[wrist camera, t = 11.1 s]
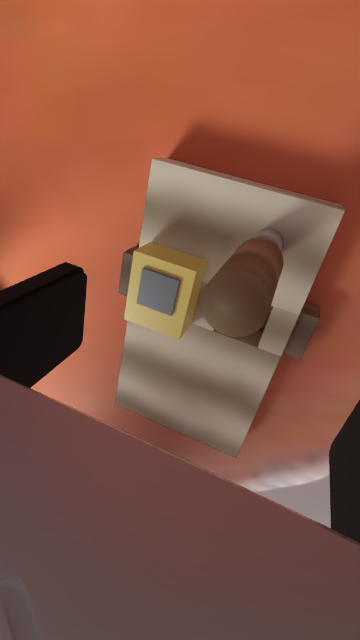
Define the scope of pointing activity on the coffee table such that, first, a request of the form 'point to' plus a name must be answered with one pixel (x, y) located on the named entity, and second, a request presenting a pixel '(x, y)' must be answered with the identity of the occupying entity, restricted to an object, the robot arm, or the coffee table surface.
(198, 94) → the coffee table surface
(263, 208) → the board
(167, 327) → the block
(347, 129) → the coffee table surface
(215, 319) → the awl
